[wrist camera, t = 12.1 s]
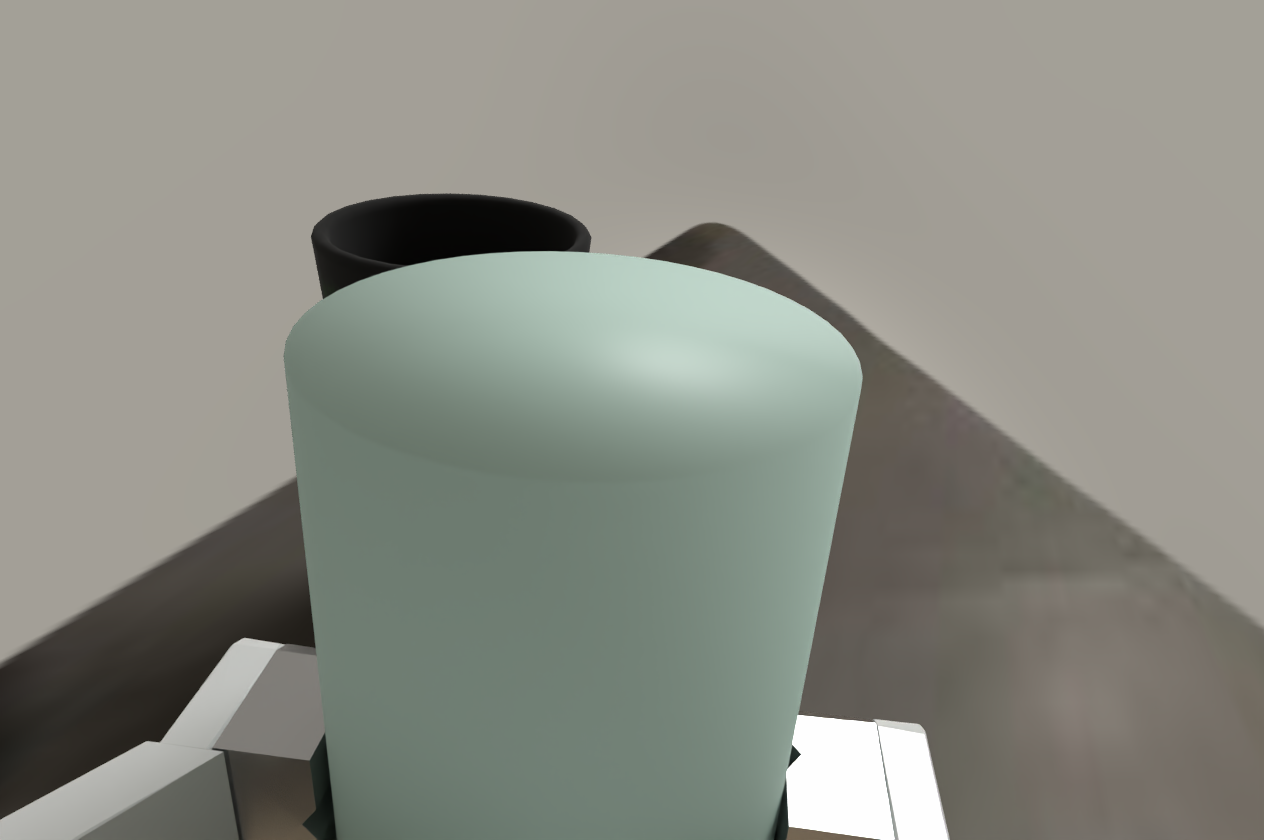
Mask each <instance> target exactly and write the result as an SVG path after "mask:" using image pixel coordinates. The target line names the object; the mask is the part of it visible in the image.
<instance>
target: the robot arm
mask: <svg viewBox="0 0 1264 840" xmlns="http://www.w3.org/2000/svg"><path fill="white" fill-rule="evenodd" d="M0 840H337V836H336V826H335V817H334V808H333V799H332V790H331V781H330V772H329V763H328V754H327V745H326V736H325V727H324V718H323V709H322V700H321V690H320V681H319V672H318V663H317V654H316V648H313V647H306V646H300V645H293V644H279V643H273V642H267V641H261V640H255V639H248V638H243V639H241V640H240V641H238V642H236V643H234V644H233V645H232V646H231V647H230V648H229V649H228V651H227V652H226V654H225V655H224V656H223V658H222V659H221V660H220V662H219V663H218V664H217V666H216V667H215V668H214V670H213V671H212V673H211V674H210V675H209V677H208V678H207V679H206V681H205V682H204V683H203V685H202V686H201V687H200V689H199V690H198V692H197V693H196V694H195V696H194V697H193V698H192V700H191V701H190V702H189V704H188V705H187V707H186V708H185V709H184V711H183V712H182V713H181V715H180V716H179V717H178V719H177V720H176V721H175V723H174V724H173V726H172V727H171V728H170V730H169V731H168V732H167V734H166V735H165V736H164V738H163V739H162V740H161V742H160V743H159V742H150V741H146V742H144V743H142V744H140V745H139V746H137V747H135V748H133V749H131V750H129V751H127V752H125V753H124V754H122V755H120V756H118V757H116V758H114V759H112V760H111V761H109V762H107V763H105V764H103V765H101V766H99V767H98V768H96V769H94V770H92V771H90V772H88V773H86V774H84V775H83V776H81V777H79V778H77V779H75V780H73V781H71V782H70V783H68V784H66V785H64V786H62V787H60V788H58V789H57V790H55V791H53V792H51V793H49V794H47V795H45V796H44V797H42V798H40V799H38V800H36V801H34V802H32V803H30V804H29V805H27V806H25V807H23V808H21V809H19V810H17V811H16V812H14V813H12V814H10V815H8V816H6V817H4V818H3V819H1V820H0ZM774 840H950V839H949V835H948V830H947V826H946V821H945V817H944V812H943V808H942V803H941V799H940V795H939V790H938V786H937V781H936V777H935V772H934V768H933V764H932V759H931V755H930V750H929V746H928V741H927V737H926V732H925V731H924V729H923V728H922V727H921V725H920V724H912V723H903V722H894V721H885V720H876V719H874V720H873V721H872V720H870V719H863V718H855V717H847V716H838V715H830V714H822V713H813V712H805V711H799V713H798V718H797V723H796V728H795V733H794V738H793V744H792V749H791V754H790V759H789V764H788V769H787V775H786V780H785V785H784V790H783V795H782V801H781V806H780V811H779V816H778V821H777V826H776V832H775V837H774Z"/></svg>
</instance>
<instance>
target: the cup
mask: <svg viewBox="0 0 1264 840" xmlns="http://www.w3.org/2000/svg"><path fill="white" fill-rule="evenodd" d="M311 239H312V244H313V248H314V254H315V260H316V265H317V270H318V275H319V280H320V286H321V291H322V296H323V299H324V298H326V297H328V296H330V295H331V294H333V293H335V292H336V291H338V290H340V289H342V288H345V287H347V286H349V285H351V284H354V283H356V282H358V281H360V280H363V279H366V278H369V277H372V276H375V275H378V274H381V273H383V272H387V271H391V270H395V269H398V268H402V267H406V266H410V265H415V264H419V263H424V262H429V261H434V260H440V259H447V258H454V257H460V256H469V255H479V254H489V253H505V252H532V251H558V252H585V253H589V250H590V243H591V236H590V234H589V232H588V230H587V229H586V227H585V226H584V225H583V224H582V223H581V222H580V221H578V220H577V219H575V218H574V217H573V216H571V215H569V214H566V213H564V212H562V211H559V210H557V209H555V208H551V207H548V206H544V205H540V204H537V203H533V202H528V201H522V200H517V199H511V198H504V197H495V196H486V195H471V194H418V195H406V196H394V197H387V198H381V199H375V200H369V201H365V202H361V203H357V204H353V205H349V206H346V207H344V208H341V209H339V210H336V211H334V212H332V213H330V214H328V215H327V216H325V217H324V218H323V219H322V220H321V221H320V222H318V223H317V224H316V225H315V226H314V229H313V232H312V235H311Z"/></svg>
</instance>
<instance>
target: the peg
mask: <svg viewBox="0 0 1264 840" xmlns="http://www.w3.org/2000/svg"><path fill="white" fill-rule="evenodd" d="M284 363H285V373H286V381H287V391H288V400H289V409H290V419H291V428H292V437H293V446H294V455H295V463H296V473H297V482H298V491H299V500H300V509H301V518H302V527H303V536H304V545H305V555H306V564H307V573H308V582H309V591H310V600H311V609H312V618H313V627H314V636H315V645H316V654H317V663H318V672H319V681H320V690H321V700H322V709H323V718H324V727H325V736H326V745H327V754H328V763H329V772H330V781H331V790H332V799H333V808H334V817H335V826H336V836H337V840H774V837H775V832H776V826H777V821H778V816H779V811H780V806H781V801H782V795H783V790H784V785H785V780H786V775H787V769H788V764H789V759H790V754H791V749H792V744H793V738H794V733H795V728H796V723H797V718H798V713H799V707H800V702H801V697H802V692H803V687H804V681H805V676H806V671H807V666H808V661H809V656H810V650H811V645H812V640H813V635H814V630H815V625H816V619H817V614H818V609H819V604H820V599H821V594H822V588H823V583H824V578H825V573H826V568H827V562H828V557H829V552H830V547H831V542H832V537H833V531H834V526H835V521H836V516H837V511H838V506H839V500H840V495H841V490H842V485H843V480H844V474H845V469H846V464H847V459H848V454H849V449H850V443H851V438H852V433H853V428H854V423H855V418H856V412H857V407H858V402H859V397H860V391H861V385H862V378H863V377H862V371H861V366H860V362H859V360H858V358H857V356H856V354H855V352H854V350H853V348H852V347H851V345H850V344H849V343H848V342H847V340H846V339H845V338H844V337H843V336H842V334H841V333H839V332H838V331H837V330H836V329H835V328H834V327H833V326H831V325H830V324H829V323H828V322H827V321H825V320H824V319H822V318H821V317H819V316H818V315H817V314H815V313H814V312H812V311H811V310H809V309H807V308H805V307H803V306H802V305H800V304H798V303H796V302H794V301H792V300H790V299H789V298H786V297H784V296H782V295H779V294H777V293H775V292H773V291H770V290H768V289H765V288H763V287H760V286H757V285H754V284H752V283H749V282H746V281H743V280H740V279H737V278H733V277H730V276H727V275H723V274H720V273H716V272H712V271H708V270H704V269H700V268H695V267H691V266H686V265H681V264H676V263H671V262H665V261H659V260H653V259H646V258H639V257H631V256H622V255H621V256H620V255H612V254H601V253H585V252H558V251H532V252H505V253H489V254H479V255H469V256H460V257H454V258H447V259H440V260H434V261H429V262H424V263H419V264H415V265H410V266H406V267H402V268H398V269H395V270H391V271H387V272H383V273H381V274H378V275H375V276H372V277H369V278H366V279H363V280H360V281H358V282H356V283H354V284H351V285H349V286H347V287H345V288H342V289H340V290H338V291H336V292H335V293H333V294H331V295H330V296H328V297H326V298H324V299H323V300H321V301H320V302H318V303H317V304H316V305H315V306H313V307H312V308H311V309H309V310H308V311H307V312H306V313H305V314H304V315H303V316H302V317H301V318H300V319H299V320H298V322H297V323H296V324H295V325H294V326H293V328H292V330H291V332H290V334H289V336H288V338H287V340H286V344H285V351H284Z"/></svg>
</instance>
